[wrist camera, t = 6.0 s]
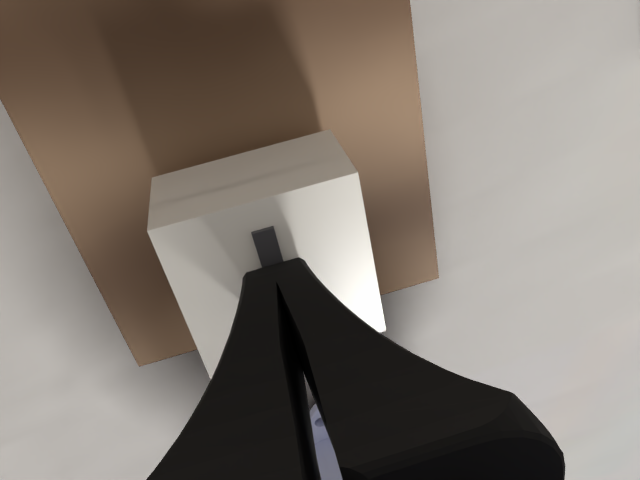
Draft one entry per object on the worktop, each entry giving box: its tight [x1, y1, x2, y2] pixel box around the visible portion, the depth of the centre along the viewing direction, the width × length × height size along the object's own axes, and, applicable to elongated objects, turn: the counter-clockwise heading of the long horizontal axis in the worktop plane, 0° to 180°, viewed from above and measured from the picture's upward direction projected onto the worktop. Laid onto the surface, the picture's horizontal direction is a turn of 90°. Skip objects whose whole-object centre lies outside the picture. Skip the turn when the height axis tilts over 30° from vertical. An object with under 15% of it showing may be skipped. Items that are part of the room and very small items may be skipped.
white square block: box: [147, 129, 386, 379], centre depth 14 cm, size 5×5×3 cm
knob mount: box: [0, 0, 439, 367], centre depth 14 cm, size 18×10×4 cm, turn 12°
